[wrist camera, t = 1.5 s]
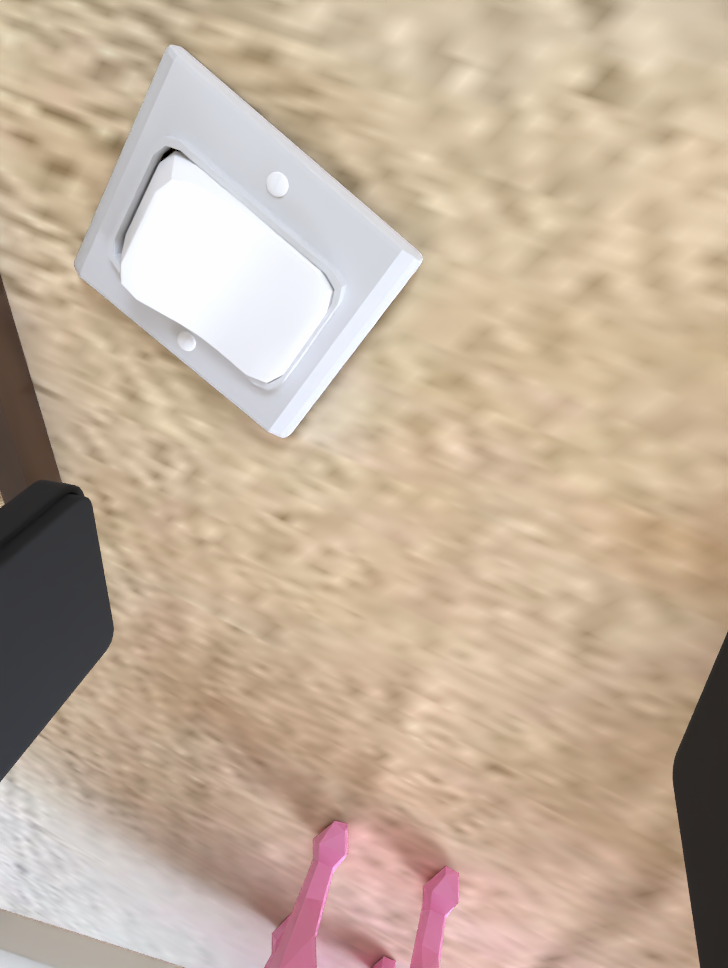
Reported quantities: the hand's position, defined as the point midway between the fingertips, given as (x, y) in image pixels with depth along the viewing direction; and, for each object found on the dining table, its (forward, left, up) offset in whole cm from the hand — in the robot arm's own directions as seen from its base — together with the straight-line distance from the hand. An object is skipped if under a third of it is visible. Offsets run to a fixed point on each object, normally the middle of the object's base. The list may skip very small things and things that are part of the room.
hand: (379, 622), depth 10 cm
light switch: (+11, 0, -22) cm, 25 cm away
